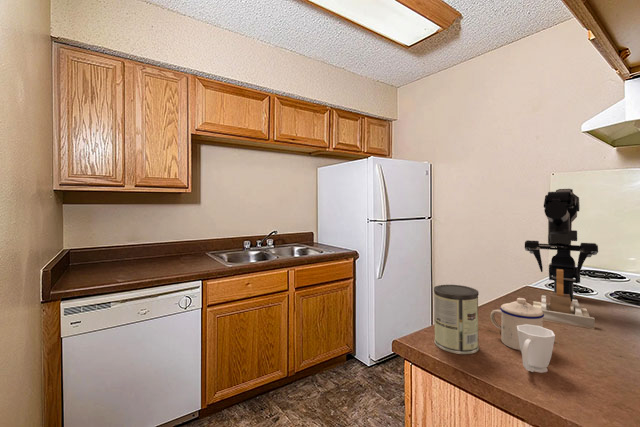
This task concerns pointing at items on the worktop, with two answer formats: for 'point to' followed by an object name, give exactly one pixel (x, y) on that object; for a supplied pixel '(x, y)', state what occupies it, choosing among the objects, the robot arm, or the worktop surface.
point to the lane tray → (575, 318)
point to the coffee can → (456, 318)
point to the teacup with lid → (516, 320)
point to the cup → (535, 347)
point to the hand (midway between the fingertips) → (559, 273)
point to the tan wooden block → (560, 297)
